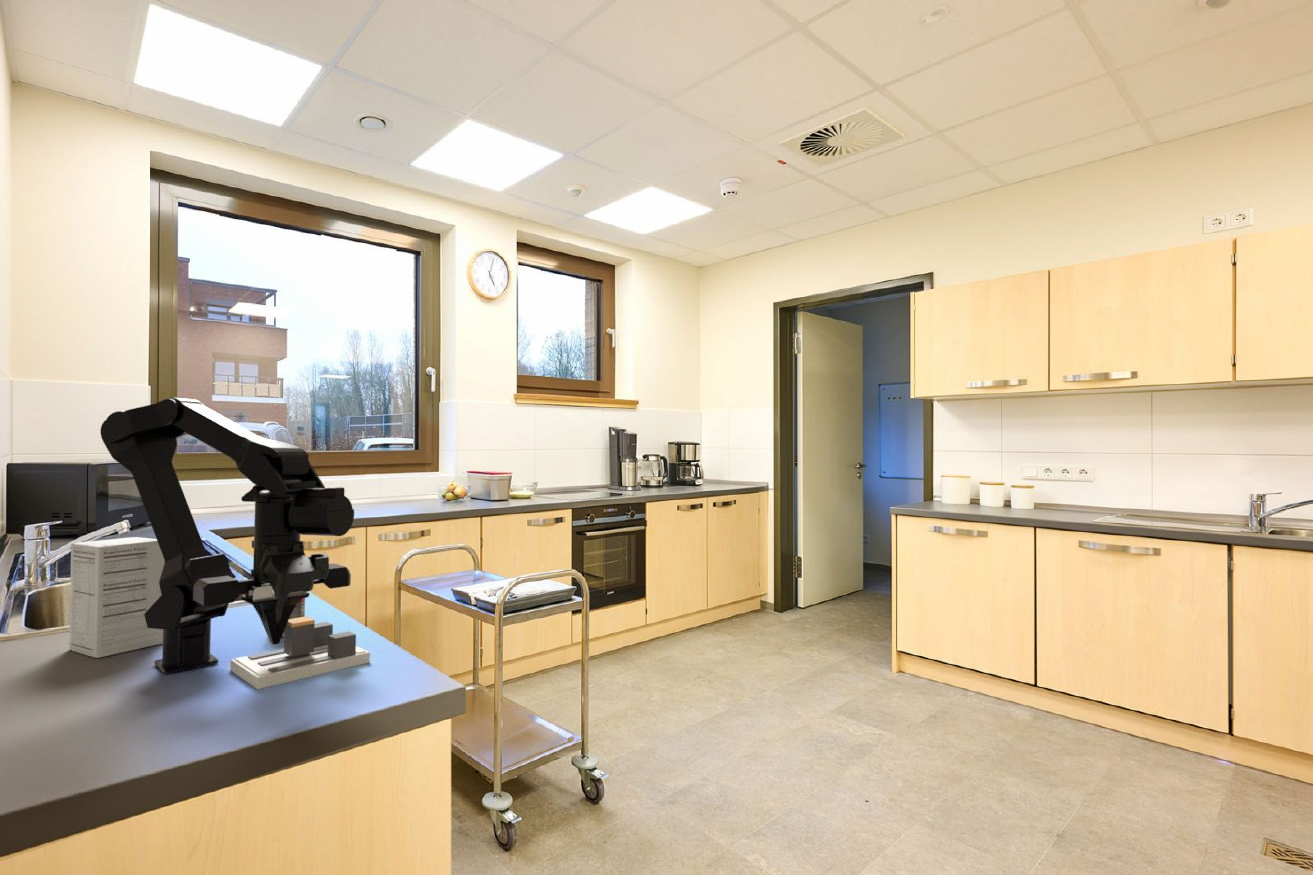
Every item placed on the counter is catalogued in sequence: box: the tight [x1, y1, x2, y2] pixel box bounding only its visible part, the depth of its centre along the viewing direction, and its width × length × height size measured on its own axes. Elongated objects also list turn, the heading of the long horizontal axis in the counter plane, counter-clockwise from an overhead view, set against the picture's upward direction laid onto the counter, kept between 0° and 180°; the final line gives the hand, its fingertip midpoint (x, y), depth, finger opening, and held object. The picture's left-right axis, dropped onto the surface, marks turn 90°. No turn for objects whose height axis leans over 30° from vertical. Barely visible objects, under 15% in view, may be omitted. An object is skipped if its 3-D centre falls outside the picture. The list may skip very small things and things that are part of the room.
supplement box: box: [68, 536, 165, 659], centre depth 104 cm, size 10×9×17 cm
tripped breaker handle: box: [283, 616, 316, 657], centre depth 95 cm, size 3×3×5 cm
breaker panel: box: [229, 621, 371, 690], centre depth 95 cm, size 11×15×4 cm
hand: (274, 643), depth 93 cm, fingers closed
